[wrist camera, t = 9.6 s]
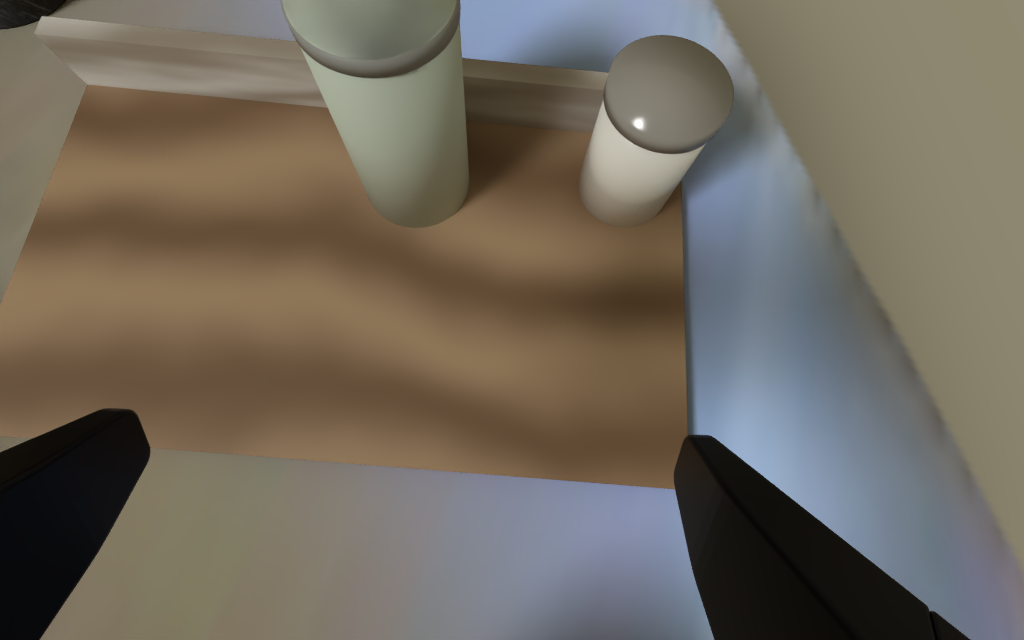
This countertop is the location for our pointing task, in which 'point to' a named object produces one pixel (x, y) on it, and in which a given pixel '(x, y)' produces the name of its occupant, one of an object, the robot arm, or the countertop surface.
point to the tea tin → (393, 98)
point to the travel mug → (25, 11)
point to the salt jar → (651, 127)
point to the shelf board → (338, 276)
